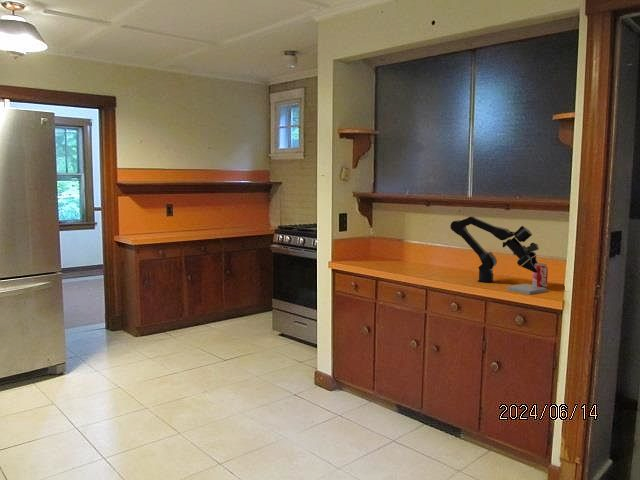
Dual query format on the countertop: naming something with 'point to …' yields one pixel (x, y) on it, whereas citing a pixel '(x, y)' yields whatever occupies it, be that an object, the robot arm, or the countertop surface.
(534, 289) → the slate board
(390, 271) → the countertop surface
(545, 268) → the soda can
